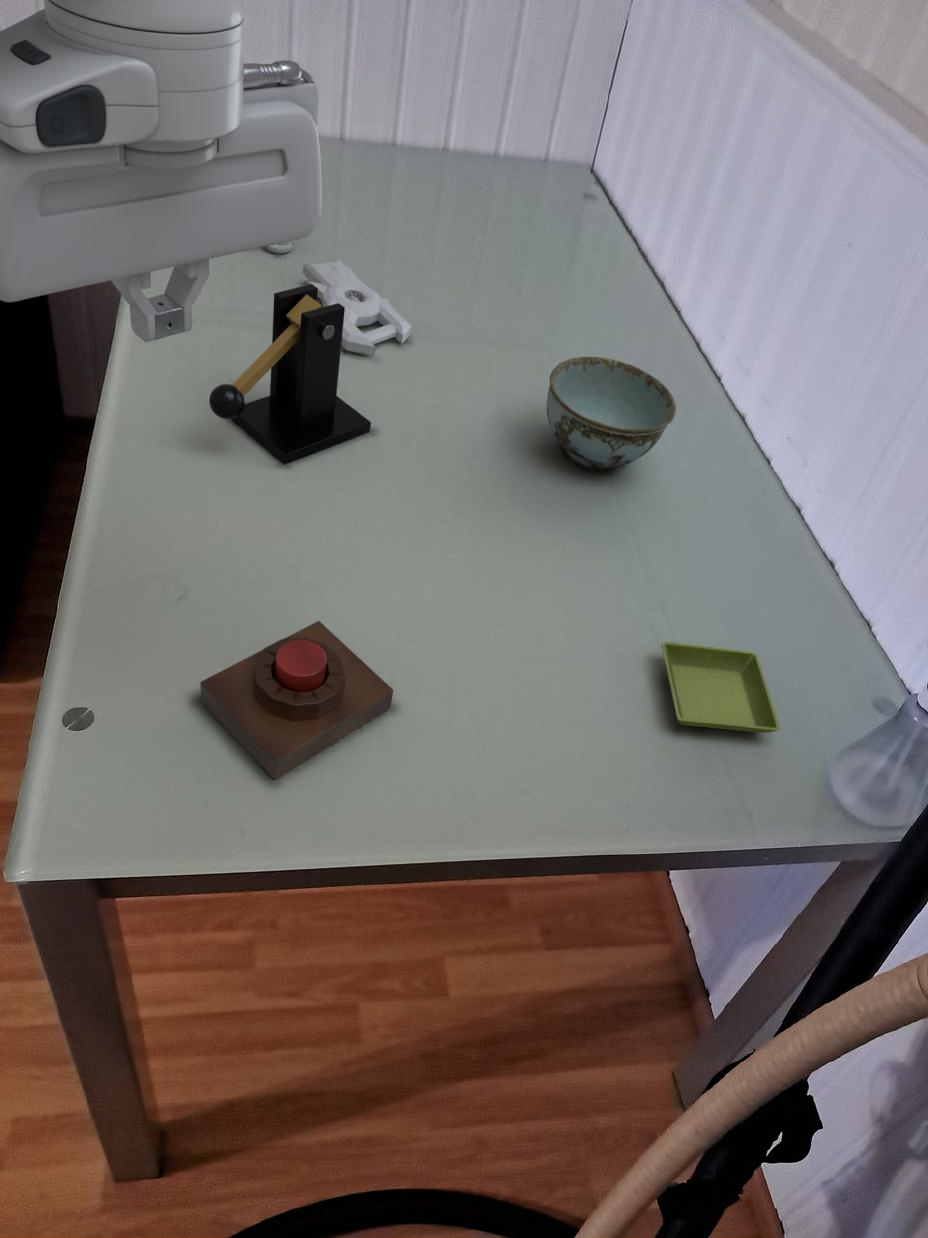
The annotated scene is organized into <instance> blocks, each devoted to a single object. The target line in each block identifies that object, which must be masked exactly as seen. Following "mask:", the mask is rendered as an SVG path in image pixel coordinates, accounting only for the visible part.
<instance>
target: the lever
mask: <svg viewBox="0 0 928 1238" xmlns="http://www.w3.org/2000/svg"><path fill="white" fill-rule="evenodd" d="M322 307H323V305H322V303H319V302H318V301H317V302H316V301H315V300H314V299H312V298H311V297H309V296H308V295H305V296H304V297H303V298H302V299H301V300H300V301H299V302H298V303H297V305H296V306H295V307H294V308H293V309H292V310H291V311H290V312H289V313H288V314H287V315H286V316H287V318H288V319H289V321H290V322H291V325H290V326H289V327H288V328H287V329H286V330H285V331H284V332H283V333H282V334H281V335H280V336H279V337H278V338H277V339H276V340H275V341H274V342H273V343H272V342H271V344H270V345H269V346H268V347H267V349H265V350H264V352H263V353H261V354H260V355H259V357H257V358H256V360H254V361H253V363H251V364H250V366H249V367H248V368H247V369H246V370H245V371H243V373H242V374H241V375H240V376H239V377H238V378H237V379H236V380H235V381H234V382H233V383H232V384H230V383H222V384H219V385H217V386H216V387H215V388H213V389H212V391H211V392H210V394H209V398H208V403H209V407H210V410H211V411H212V412H213V414H214V415H216V416H217V417H218V418H220V419H222V420H223V419H224V420H231V419H233V418H235V417H237V416H239V415H240V414H241V412H242V411H243V409H244V405H245V404H246V401H245V395H247V393H248V392H249V391H251V390H252V389H253V388H254V386H255V385H256V384H258V382H259V381H260V380H261V379H262V378H263V377H264V376H265V375H266V374H267V373H268V372H269V371H271V368H272V367H273V366H274V365H275V364H276V363H277V362H278V360H279V359H280V358H281V357H282V356H283V355H284V354H285V353H286V352H287V351H288V350H289V349H290V348H291V347H292V346H293V345H294V344H295V343H296V342H297V341H298V340H299V339H300V326H301V313H304V312H307V311H311V310H315V309H318V308H322Z"/></svg>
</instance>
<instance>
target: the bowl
mask: <svg viewBox="0 0 928 1238" xmlns="http://www.w3.org/2000/svg"><path fill="white" fill-rule="evenodd" d="M547 390H548V391H547V396H546V416H547V417H546V418H547V421H548V424H549V427H550V429H551V431H552V433H553V435H554V437H555V439H556V440H557V441H558V443H559V444H560V445H561V446H562V447H563V448H564V451H565V452H566V454H567V456H568V457H569V458H570V459H571V460H572V462H574V463H576V464H578V465H579V466H581V467H583V468H586V469H589V470H593V471H608V470H612V469H613V468H615V467H619V466H623V465H627V464H630V463H632V462H635V461H637V460H639V459H640V458H642V457H643V456H644V455H646V454H647V453H649V451H650V450H652V448H653V447H655V445H656V444H657V443H658V442H659V440H660V439H661V437H662V435H663V434H664V432H665V431H666V429H667V427H668V425H669V424H670V423H672V422H673V420H674V419H675V416H676V413H677V404H676V401H675V399H674V396H673V395H672V393H671V392H670V390H669V389H668V388H667V387H666V385H665V384H664V383H662V382H661V381H660V380H659V379H658V378H656V377H654V376H653V375H651V374H650V373H648V372H646V371H644V370H642V368H640V367H636V366H635V365H632V364H630V363H627V362H623V361H620V360H616V359H612V358H608V357H607V358H606V357H599V356H578V357H571V358H568V359H566V360H563V361H561V362H559V363H558V364H557V365H556V366H555V367H554V368H553V369H552V370H551V373H550V376H549V385H548V389H547Z"/></svg>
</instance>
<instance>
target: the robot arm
mask: <svg viewBox="0 0 928 1238" xmlns="http://www.w3.org/2000/svg"><path fill="white" fill-rule="evenodd" d="M43 3H44V8H43V9H40V10H38V11H36V12H35V13H32V14H30V15H29V16H28V17H26V18H24V19H22V20H20V21H18V22H16V23H13V24H12V25H10V26H7V27H6V28H4V29H1V30H0V301H2V302H4V303H15V302H19V301H24V300H28V299H32V298H37V297H42V296H46V295H50V294H51V295H52V294H55V293H60V292H65V291H69V290H73V289H74V290H75V289H79V288H82V287H88V286H92V285H96V284H102V283H105V282H109V281H110V282H111V283H112V284H113V285H114V287H115V288H116V289H117V291H118V292H119V294H120V295H121V296H122V297H123V299H124V300H125V302H126V303H127V304H128V305H129V316H130V326H131V329H132V331H133V333H134V334H135V335H136V336H137V337H138V338H139V339H141V340H142V341H143V342H144V343H150V342H152V341H157V340H159V339H164V338H167V337H170V336H174V335H178V334H182V333H186V332H190V331H191V330H192V328H193V317H192V316H193V314H192V313H193V311H192V310H193V309H192V308H193V307H192V306H193V305H194V304H195V302H196V301H197V299H198V297H199V295H200V293H201V291H202V289H203V287H204V285H205V283H206V281H207V280H208V277H209V275H210V259H214V258H219V257H224V256H229V255H233V254H237V253H242V252H247V251H253V250H255V249H259V248H266V247H265V246H270V245H274V244H279V243H284V242H288V241H292V242H293V241H297V240H302V239H306V238H308V237H310V236H311V235H312V233H313V232H314V230H315V229H316V227H317V226H318V224H319V222H320V220H321V216H322V205H323V200H322V199H323V196H322V195H323V191H322V190H323V189H322V188H323V187H322V184H323V182H322V161H321V160H322V159H321V147H320V139H319V134H318V128H317V127H318V123H319V111H320V110H319V107H320V93H319V88H318V85H316V81H315V80H314V78H313V77H312V75H311V74H310V73H309V72H308V71H307V70H305V69H303V68H301V67H300V64H299V63H298V62H296V61H294V60H286V59H283V60H282V59H281V60H276V61H273V62H272V63H255V62H246V63H244V61H245V59H244V58H245V57H244V55H245V53H244V52H245V4H244V3H245V2H244V0H43ZM168 268H169V269H170V268H173V269H172V272H171V275H170V277H169V280H168V282H167V284H166V287H165V290H164V293H163V294H162V293H161V294H159V295H155V296H150V297H147V296H146V294H145V292H143V290H147V289H150V288H151V286H152V274H151V273H152V272H155V271H159V270H164V269H168ZM142 289H143V290H142Z"/></svg>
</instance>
